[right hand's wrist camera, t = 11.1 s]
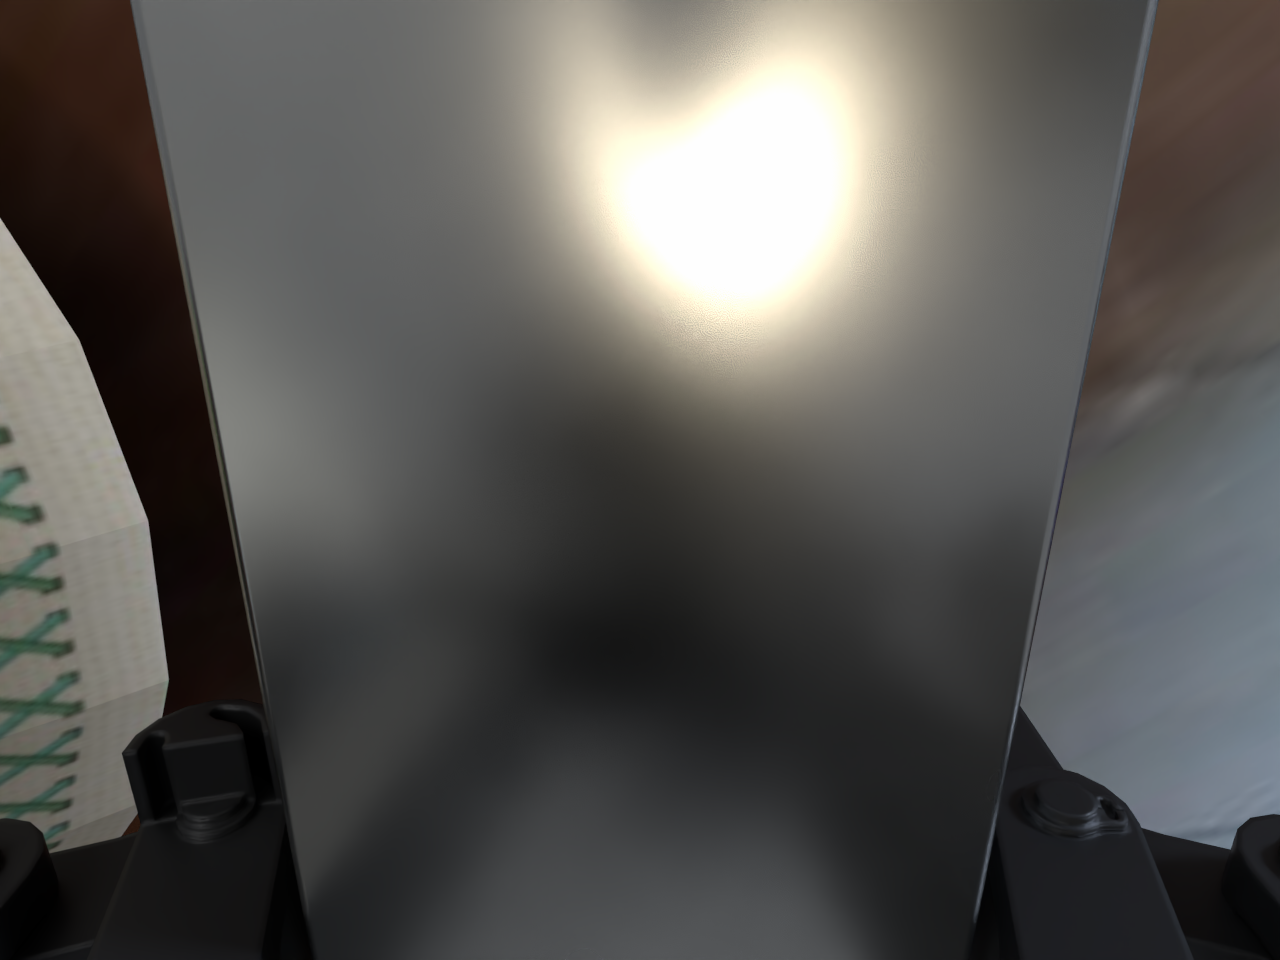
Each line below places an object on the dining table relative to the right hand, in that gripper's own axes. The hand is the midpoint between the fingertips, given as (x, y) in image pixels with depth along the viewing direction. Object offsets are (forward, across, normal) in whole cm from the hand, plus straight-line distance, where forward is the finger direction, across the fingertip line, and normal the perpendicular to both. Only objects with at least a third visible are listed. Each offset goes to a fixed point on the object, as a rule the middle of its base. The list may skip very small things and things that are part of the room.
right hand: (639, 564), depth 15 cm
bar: (+1, 0, -9) cm, 9 cm away
